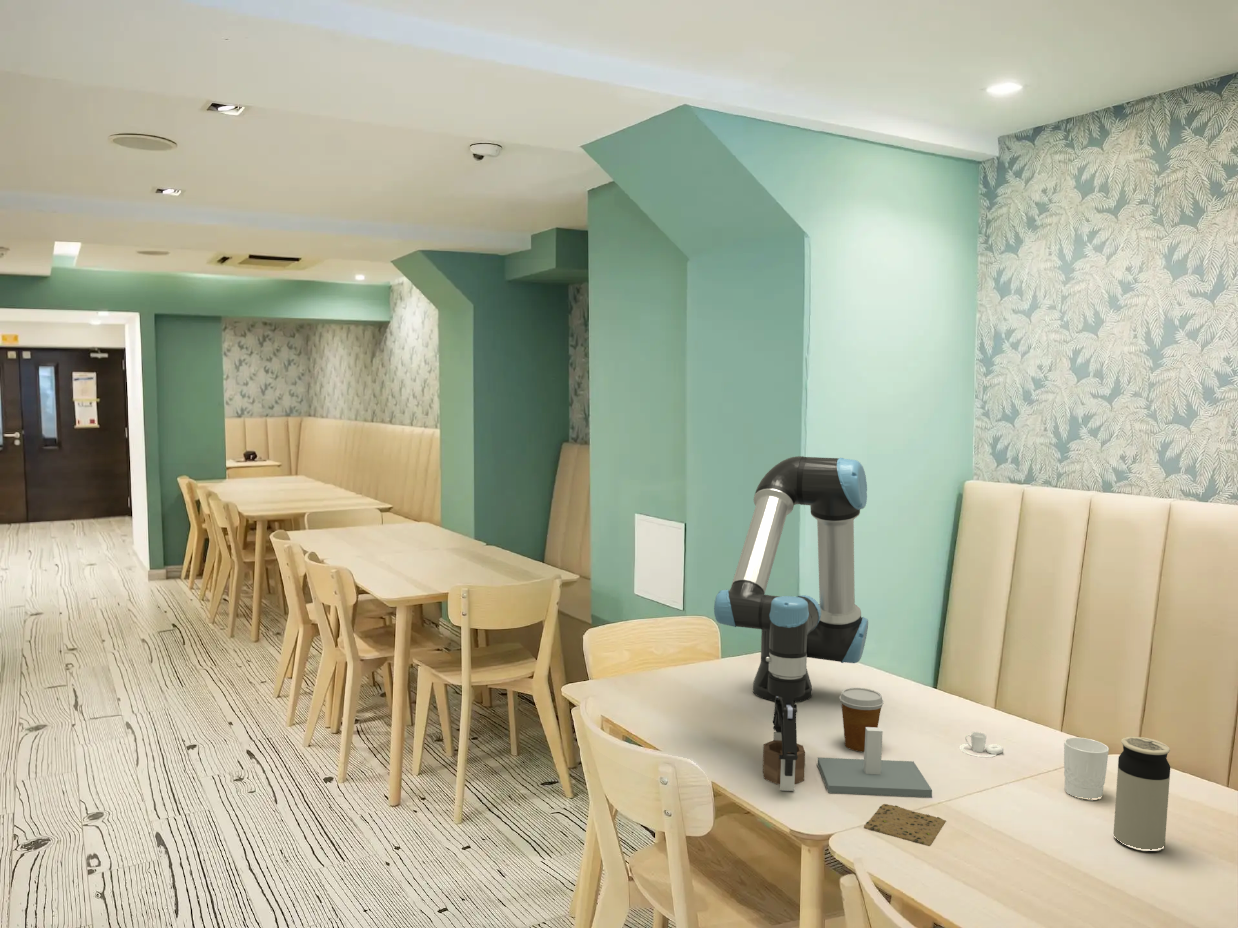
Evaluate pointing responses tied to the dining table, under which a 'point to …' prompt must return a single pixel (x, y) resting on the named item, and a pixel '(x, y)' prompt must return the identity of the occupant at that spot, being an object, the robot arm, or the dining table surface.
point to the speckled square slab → (905, 824)
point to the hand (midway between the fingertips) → (783, 775)
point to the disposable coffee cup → (859, 715)
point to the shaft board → (873, 773)
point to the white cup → (1085, 767)
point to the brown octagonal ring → (774, 763)
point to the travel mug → (1142, 793)
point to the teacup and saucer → (981, 745)
